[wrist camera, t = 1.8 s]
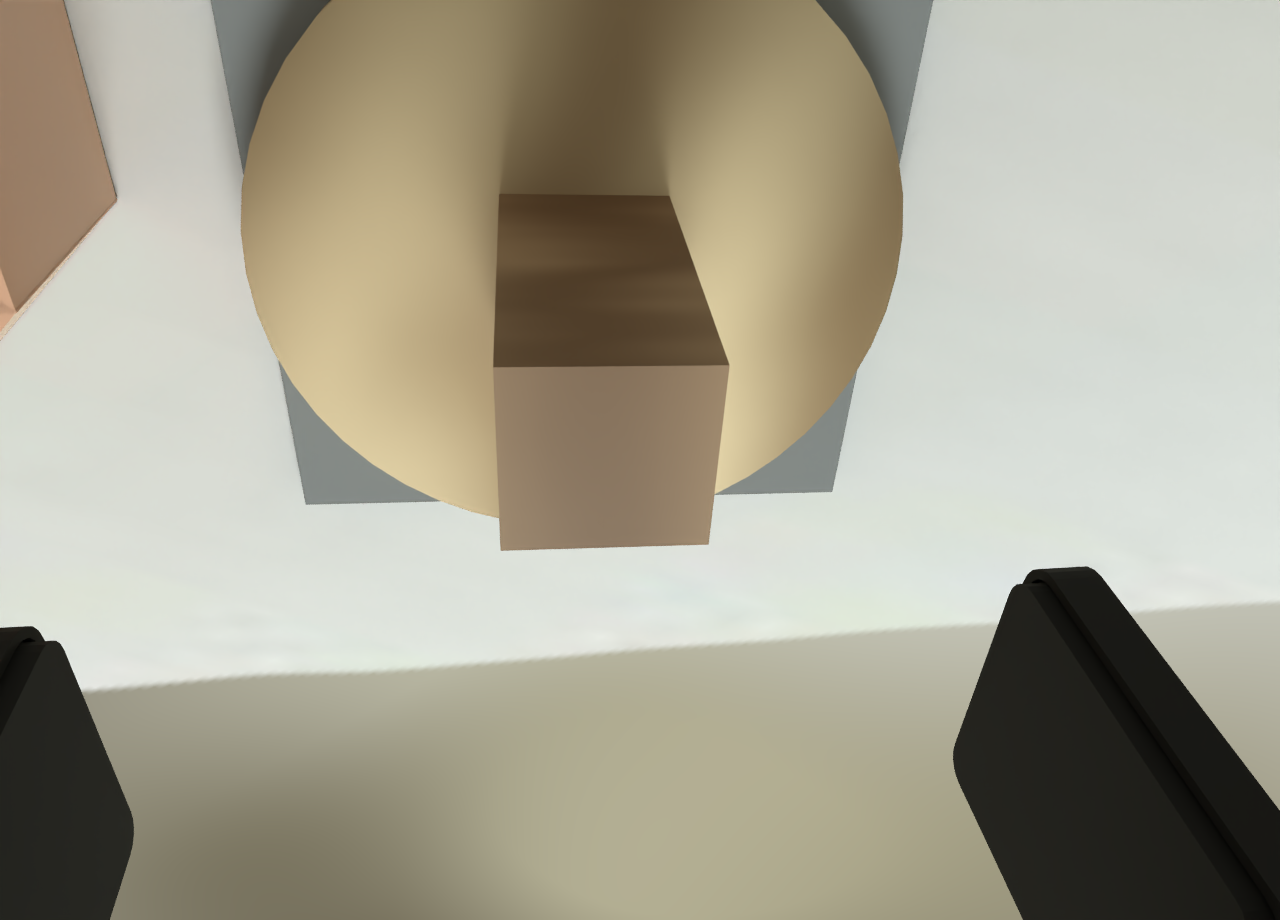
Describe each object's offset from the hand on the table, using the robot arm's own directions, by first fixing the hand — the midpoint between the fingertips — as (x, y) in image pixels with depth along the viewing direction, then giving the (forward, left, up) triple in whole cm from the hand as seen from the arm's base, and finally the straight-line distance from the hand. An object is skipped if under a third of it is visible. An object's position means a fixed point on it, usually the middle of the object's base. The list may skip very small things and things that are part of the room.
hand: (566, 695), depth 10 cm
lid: (-1, 0, -11) cm, 11 cm away
